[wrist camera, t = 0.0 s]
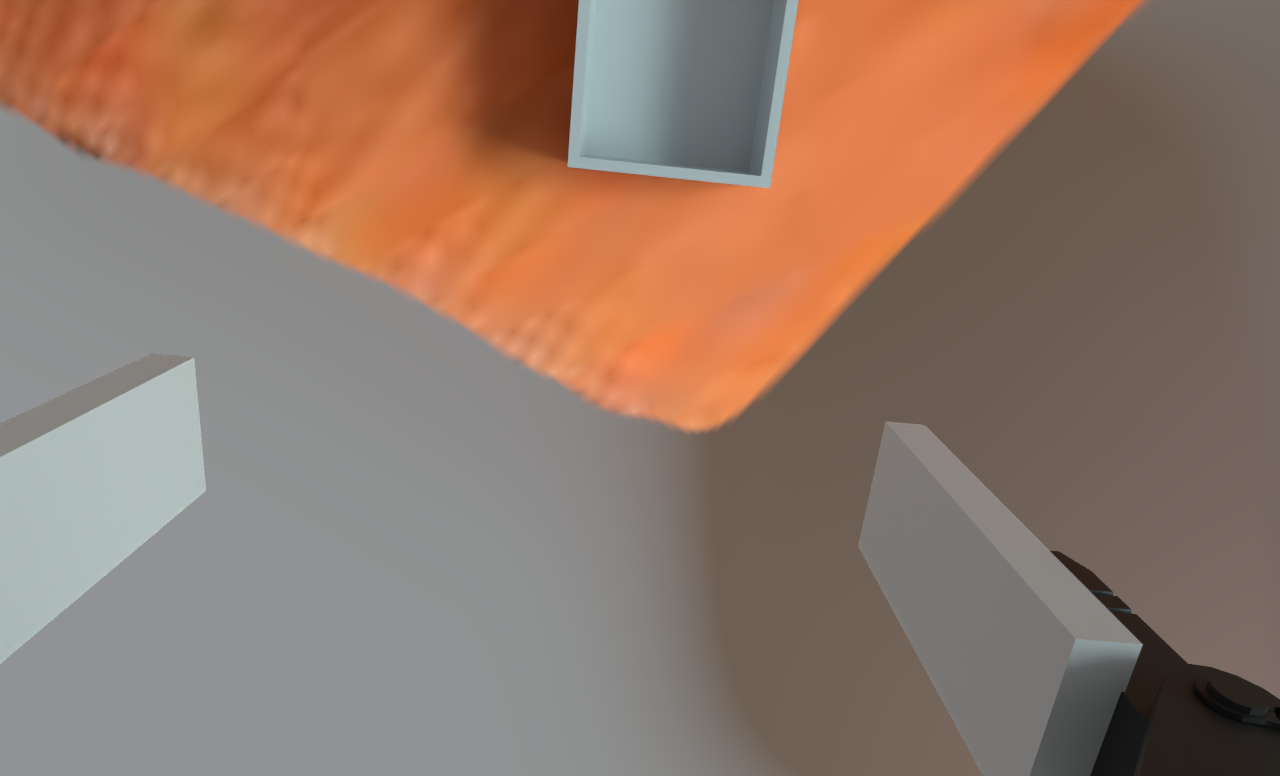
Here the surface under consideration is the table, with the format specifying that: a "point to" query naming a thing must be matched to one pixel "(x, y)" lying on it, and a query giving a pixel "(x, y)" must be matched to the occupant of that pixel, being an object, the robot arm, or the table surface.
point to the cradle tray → (680, 87)
